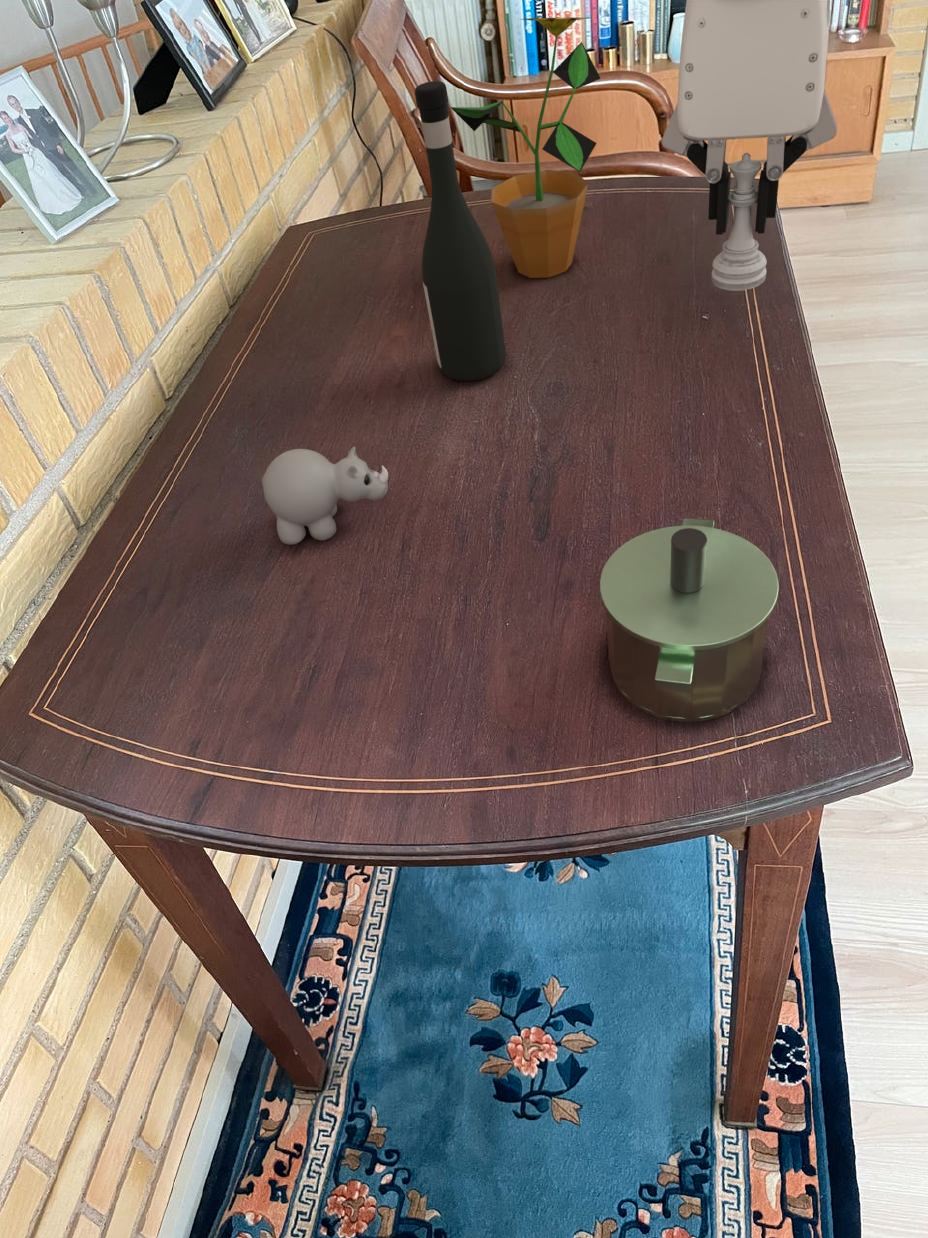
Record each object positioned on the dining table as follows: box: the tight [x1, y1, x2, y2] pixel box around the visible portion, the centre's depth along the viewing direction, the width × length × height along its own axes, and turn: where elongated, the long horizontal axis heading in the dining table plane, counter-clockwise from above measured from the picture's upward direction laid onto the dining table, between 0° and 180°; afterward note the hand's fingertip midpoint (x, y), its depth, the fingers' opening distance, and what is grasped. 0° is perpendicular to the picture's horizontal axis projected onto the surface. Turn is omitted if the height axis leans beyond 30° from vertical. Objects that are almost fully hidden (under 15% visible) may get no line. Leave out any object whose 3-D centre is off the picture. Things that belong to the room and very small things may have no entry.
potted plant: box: [450, 17, 601, 279], centre depth 113 cm, size 18×19×30 cm
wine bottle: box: [414, 80, 507, 383], centre depth 97 cm, size 8×8×30 cm
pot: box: [606, 518, 769, 723], centre depth 69 cm, size 11×17×8 cm
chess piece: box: [710, 152, 768, 292], centre depth 73 cm, size 4×4×10 cm
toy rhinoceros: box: [261, 446, 389, 546], centre depth 88 cm, size 7×12×8 cm, turn 93°
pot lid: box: [599, 525, 780, 650], centre depth 64 cm, size 12×12×5 cm
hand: (741, 224), depth 73 cm, fingers closed on chess piece, 2 cm apart
